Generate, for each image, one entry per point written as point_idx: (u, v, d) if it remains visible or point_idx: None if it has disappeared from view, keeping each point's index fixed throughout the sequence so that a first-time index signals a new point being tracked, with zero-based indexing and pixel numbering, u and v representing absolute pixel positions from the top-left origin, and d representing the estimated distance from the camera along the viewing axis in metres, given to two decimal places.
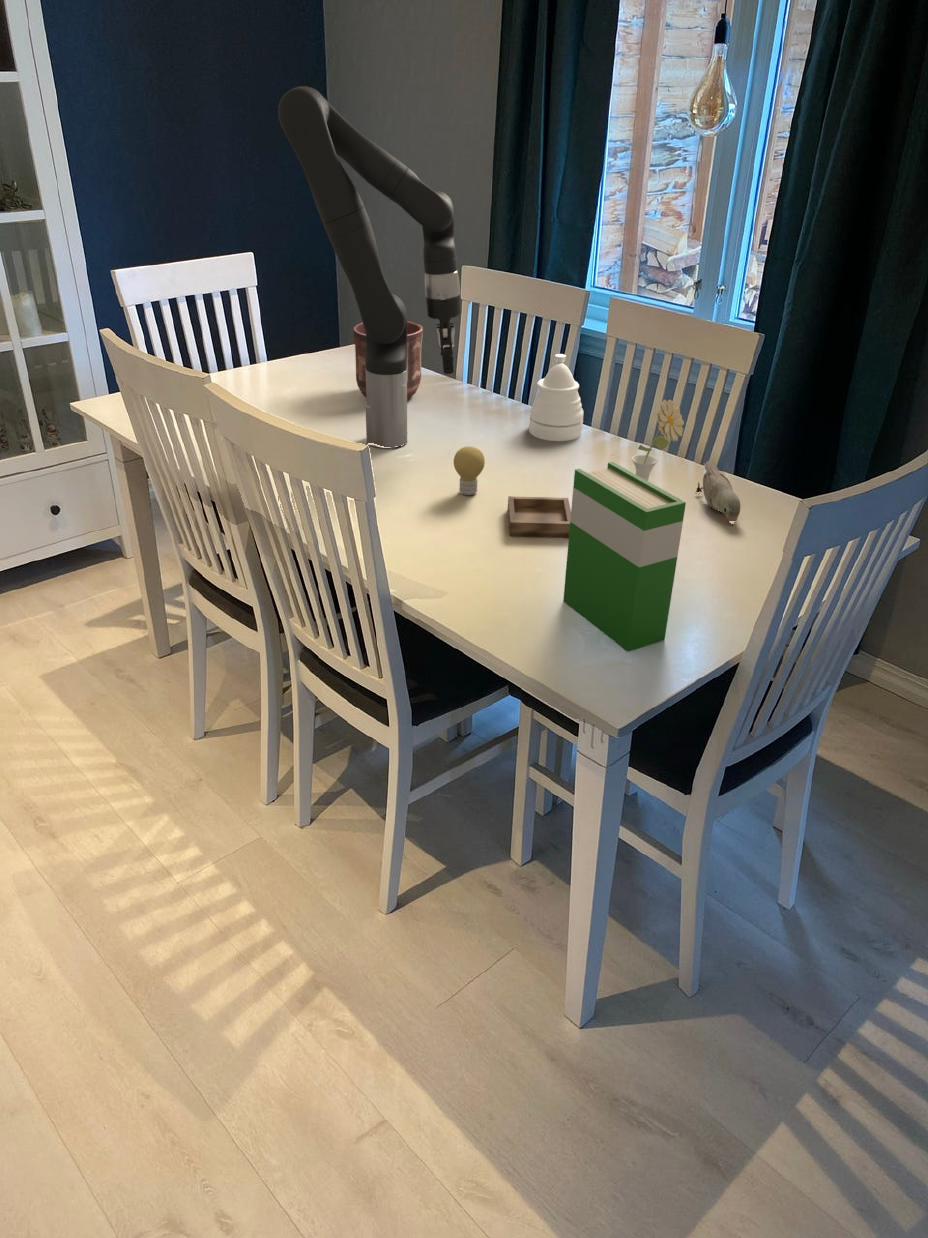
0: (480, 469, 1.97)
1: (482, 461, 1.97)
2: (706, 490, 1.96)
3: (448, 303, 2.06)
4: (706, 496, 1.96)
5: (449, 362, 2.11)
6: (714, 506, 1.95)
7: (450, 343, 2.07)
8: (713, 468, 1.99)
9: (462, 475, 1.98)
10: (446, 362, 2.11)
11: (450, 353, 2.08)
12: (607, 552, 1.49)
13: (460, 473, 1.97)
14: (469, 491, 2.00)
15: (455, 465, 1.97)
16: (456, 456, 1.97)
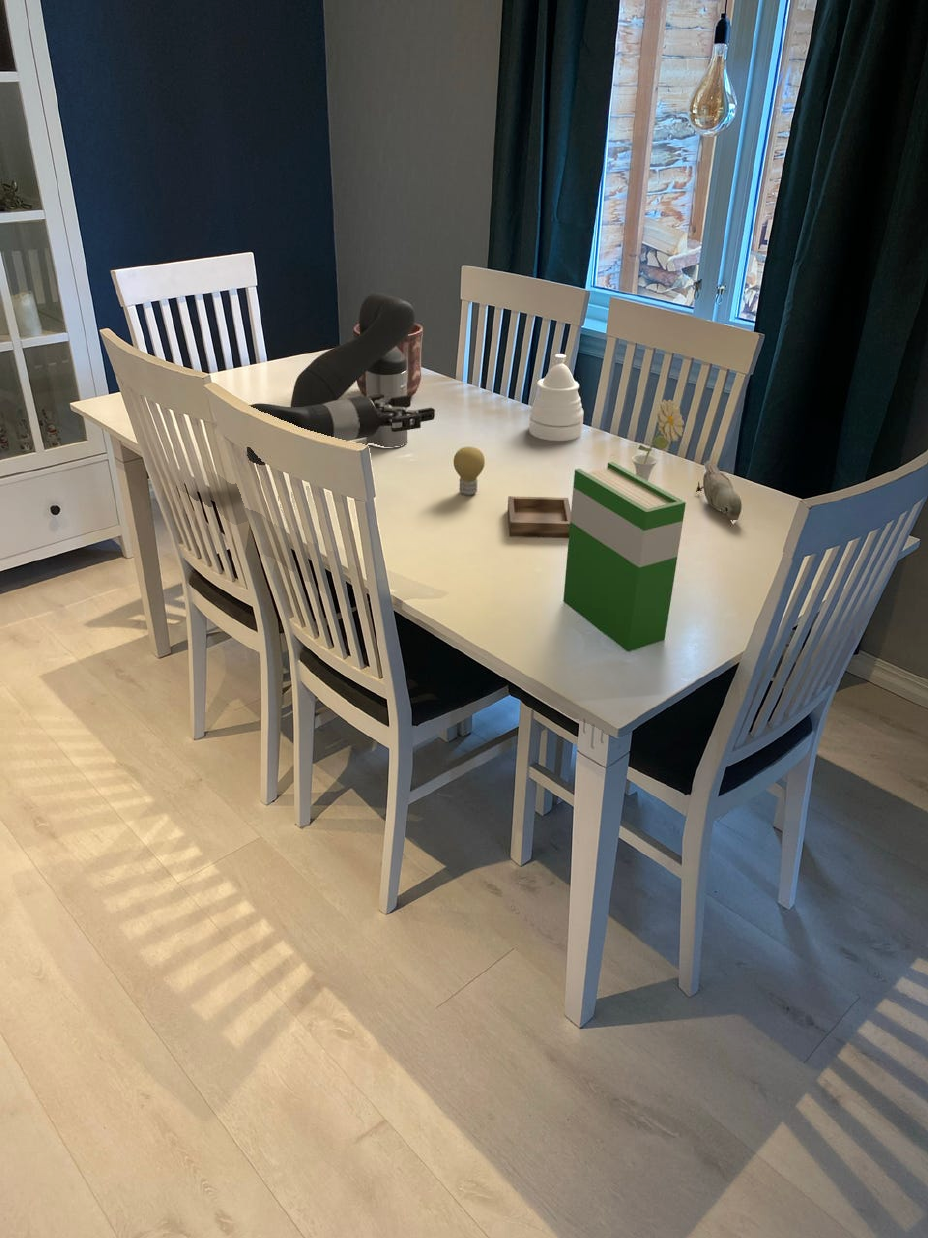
0: (480, 469, 1.97)
1: (482, 461, 1.97)
2: (707, 489, 1.97)
3: (363, 418, 1.75)
4: (707, 495, 1.97)
5: (424, 414, 1.80)
6: (715, 505, 1.95)
7: (409, 418, 1.76)
8: (713, 467, 1.99)
9: (462, 475, 1.98)
10: (424, 418, 1.81)
11: (419, 417, 1.77)
12: (607, 552, 1.49)
13: (460, 473, 1.97)
14: (469, 491, 2.00)
15: (455, 465, 1.97)
16: (456, 456, 1.97)
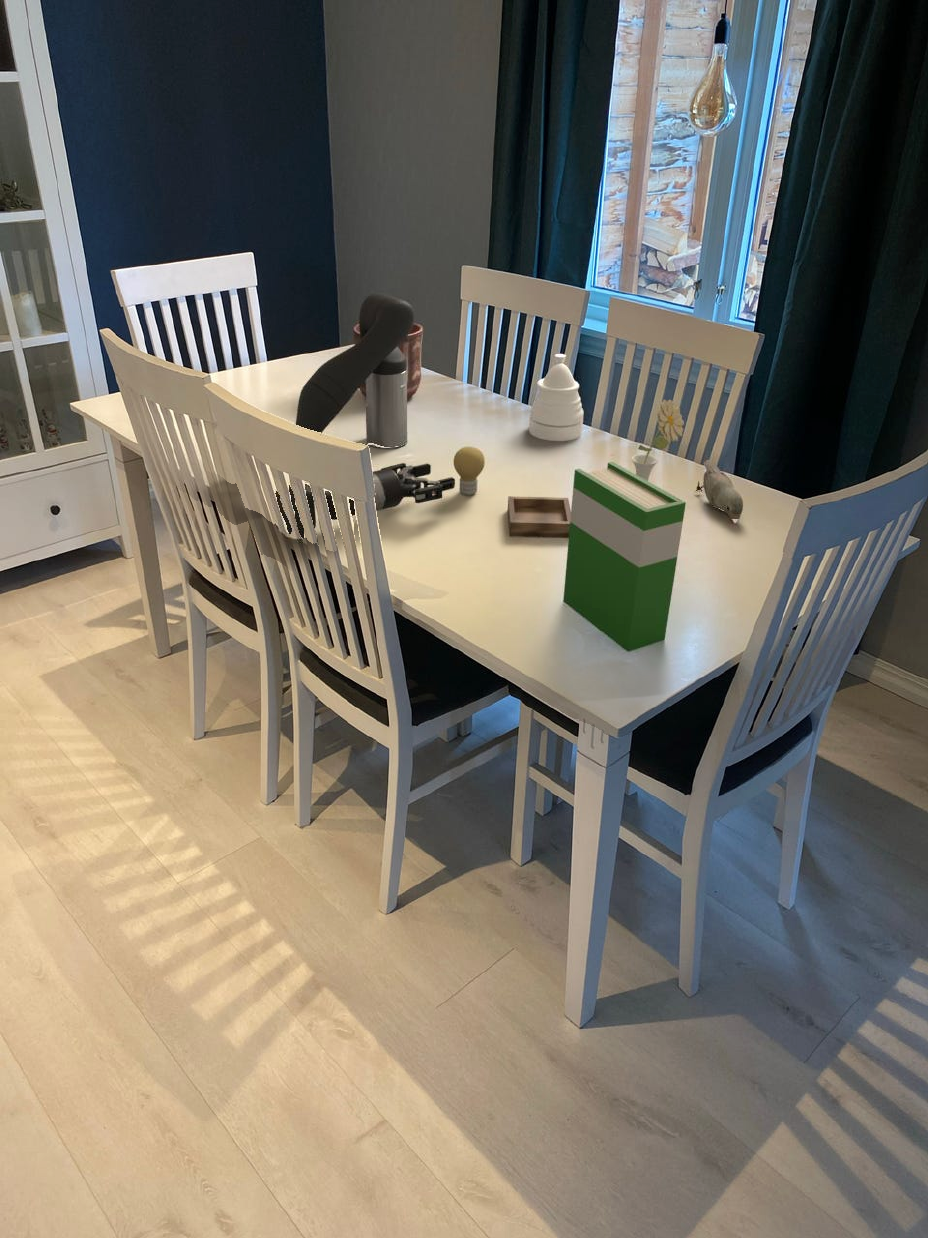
0: (480, 469, 1.97)
1: (482, 461, 1.97)
2: (707, 489, 1.97)
3: (388, 491, 1.84)
4: (707, 495, 1.97)
5: (445, 485, 1.90)
6: (716, 504, 1.96)
7: (431, 490, 1.86)
8: (713, 467, 1.99)
9: (462, 475, 1.98)
10: (445, 488, 1.90)
11: (441, 488, 1.87)
12: (607, 552, 1.49)
13: (460, 473, 1.97)
14: (469, 491, 2.00)
15: (455, 465, 1.97)
16: (456, 456, 1.97)
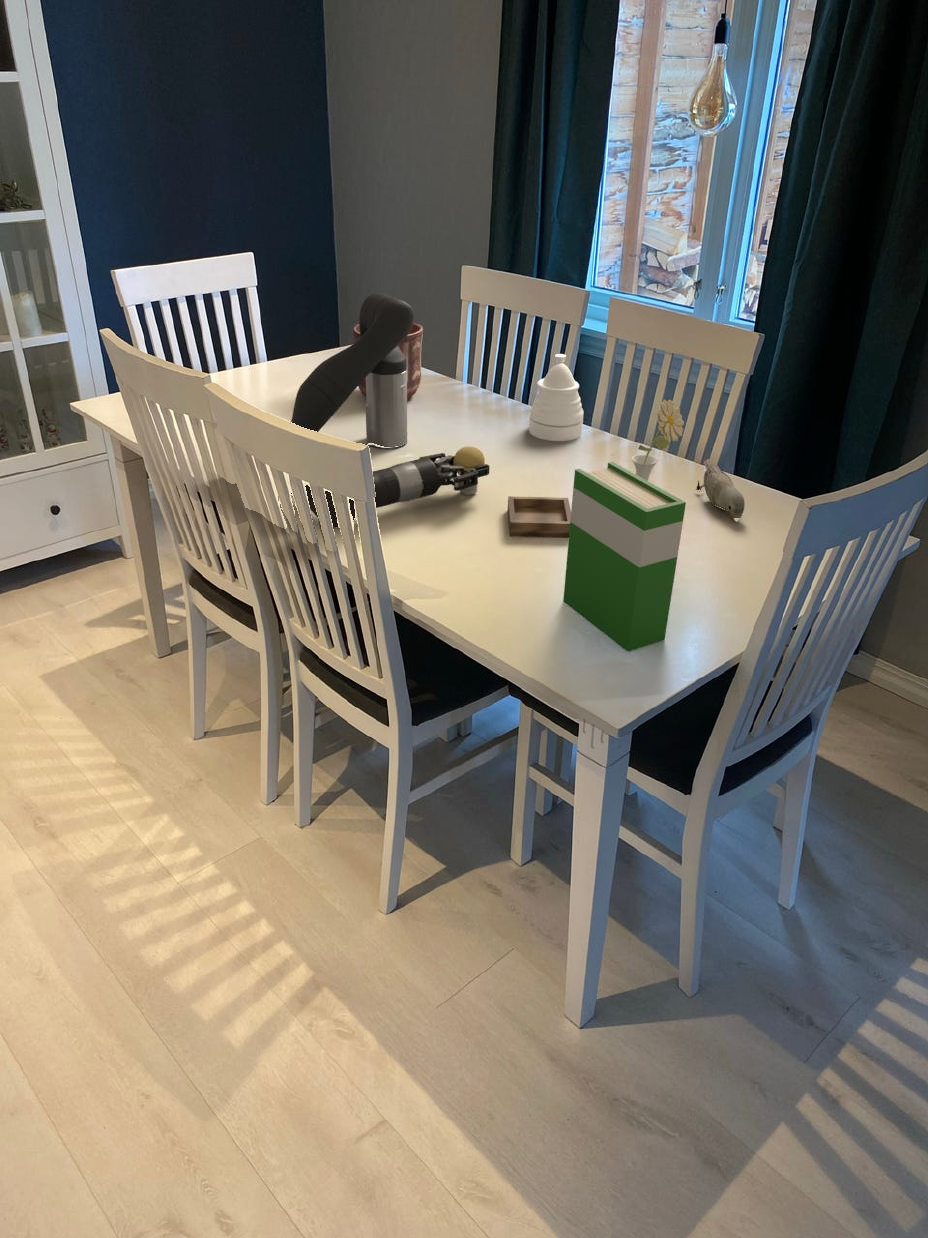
0: None
1: (482, 461, 1.97)
2: (708, 488, 1.97)
3: (426, 479, 1.89)
4: (708, 494, 1.97)
5: (481, 471, 1.95)
6: (717, 504, 1.96)
7: (469, 477, 1.91)
8: (713, 466, 2.00)
9: None
10: (480, 474, 1.96)
11: (477, 475, 1.93)
12: (607, 552, 1.49)
13: None
14: (469, 491, 2.00)
15: (455, 465, 1.97)
16: (456, 456, 1.97)
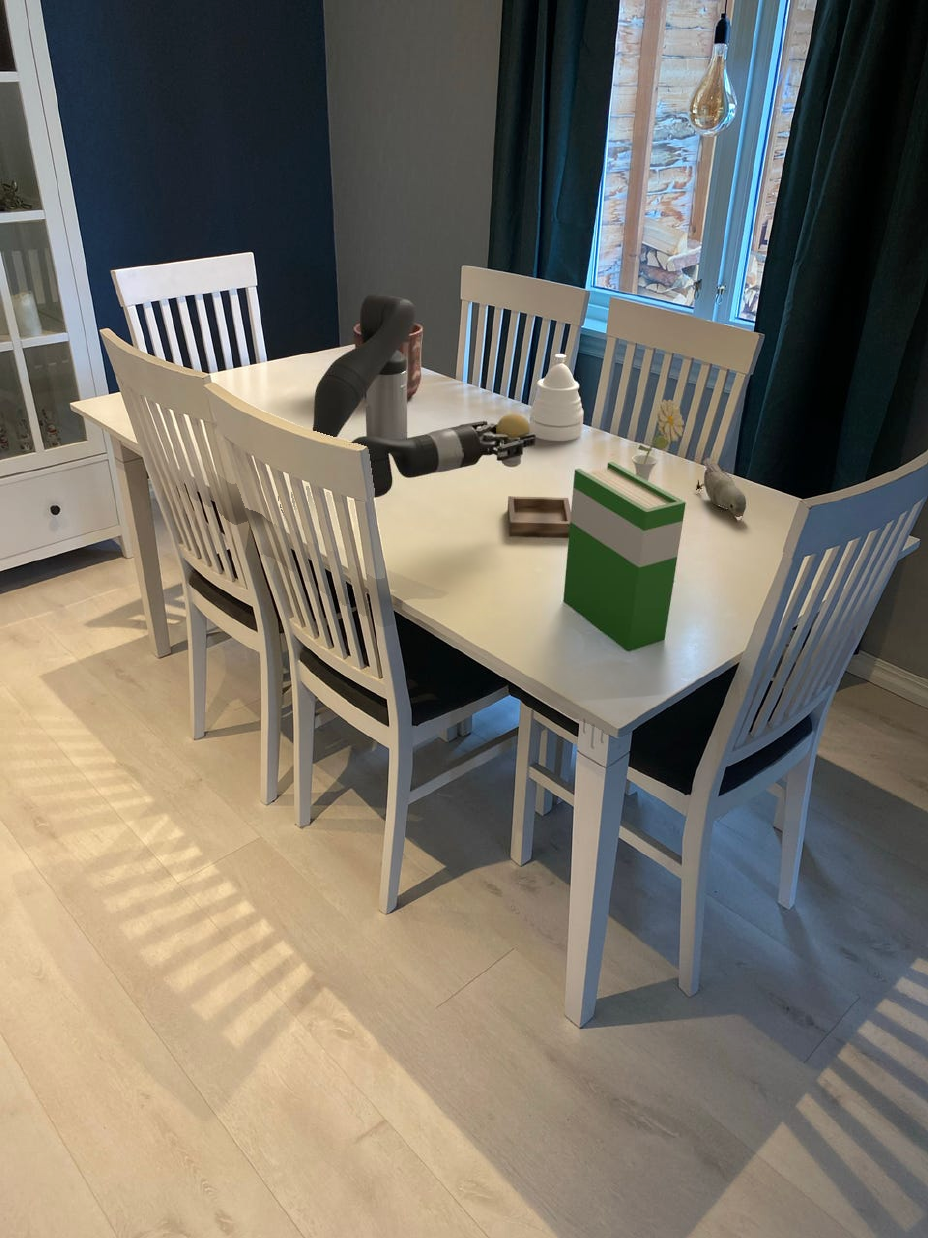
0: None
1: (527, 430, 1.81)
2: (709, 487, 1.98)
3: (466, 448, 1.74)
4: (709, 493, 1.98)
5: (526, 441, 1.80)
6: (718, 503, 1.96)
7: (513, 446, 1.76)
8: (713, 465, 2.00)
9: None
10: (525, 444, 1.80)
11: (522, 444, 1.77)
12: (607, 552, 1.49)
13: None
14: (512, 462, 1.84)
15: None
16: (499, 424, 1.81)
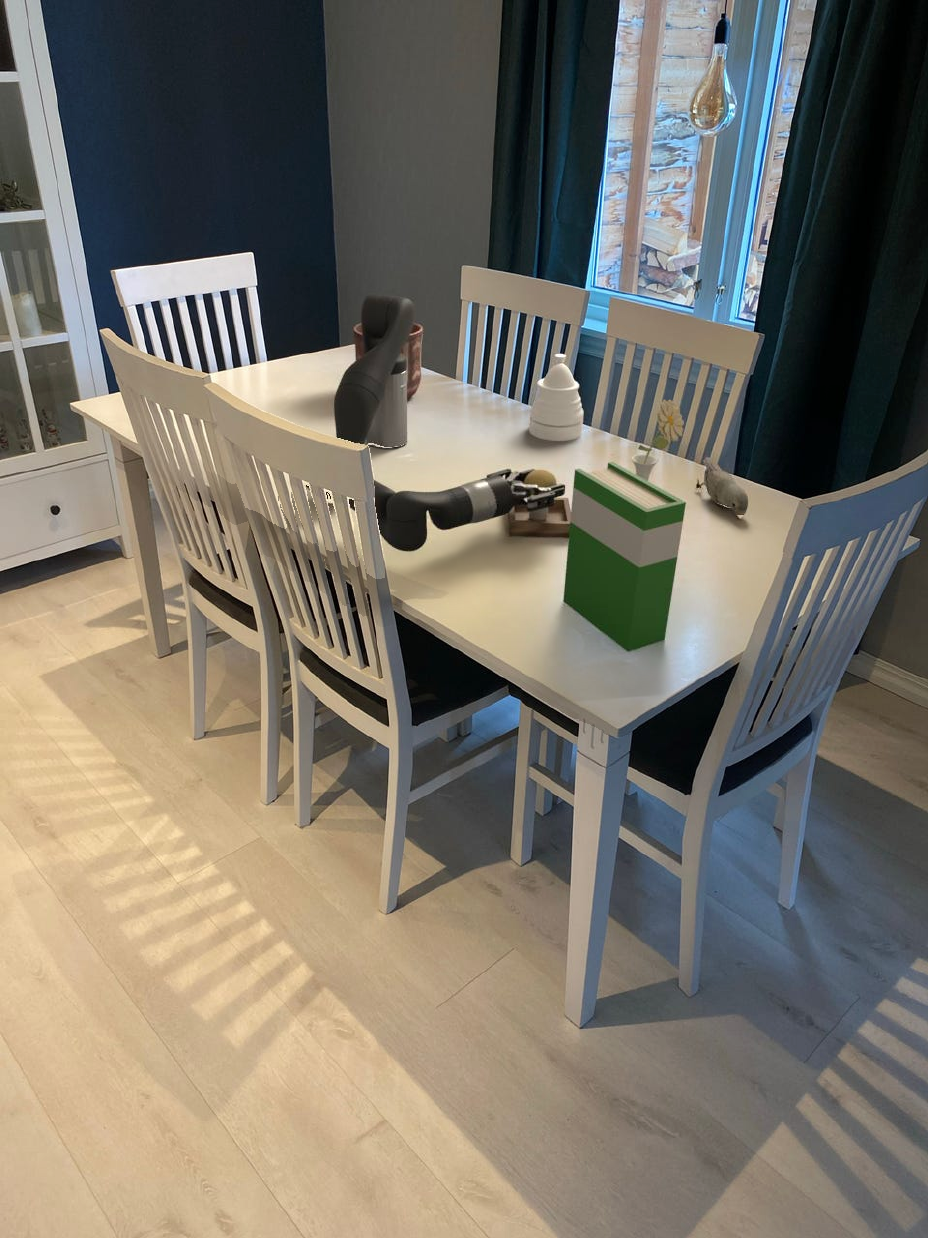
0: None
1: None
2: (710, 486, 1.98)
3: (499, 499, 1.76)
4: (710, 492, 1.98)
5: (556, 491, 1.81)
6: (720, 501, 1.97)
7: (544, 497, 1.78)
8: (713, 464, 2.01)
9: None
10: (556, 495, 1.82)
11: (553, 496, 1.79)
12: (607, 552, 1.49)
13: None
14: (540, 517, 1.88)
15: None
16: (527, 480, 1.84)
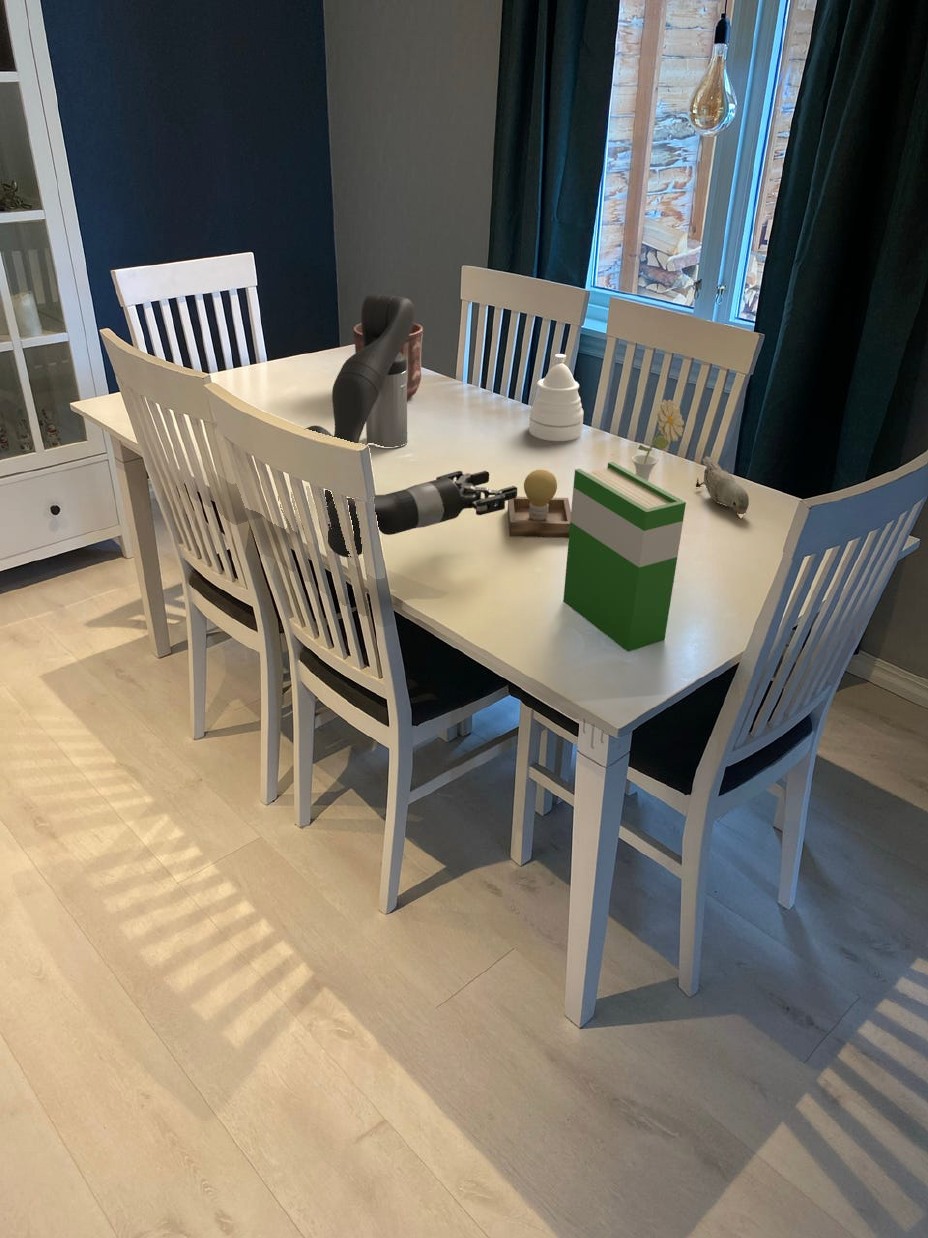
0: (553, 494, 1.85)
1: (555, 485, 1.84)
2: (710, 485, 1.98)
3: (447, 502, 1.69)
4: (711, 491, 1.99)
5: (508, 494, 1.74)
6: (720, 500, 1.97)
7: (494, 500, 1.71)
8: (713, 463, 2.01)
9: (533, 500, 1.85)
10: (507, 497, 1.75)
11: (503, 499, 1.72)
12: (607, 552, 1.49)
13: (531, 498, 1.85)
14: (540, 517, 1.88)
15: (526, 490, 1.85)
16: (527, 480, 1.84)
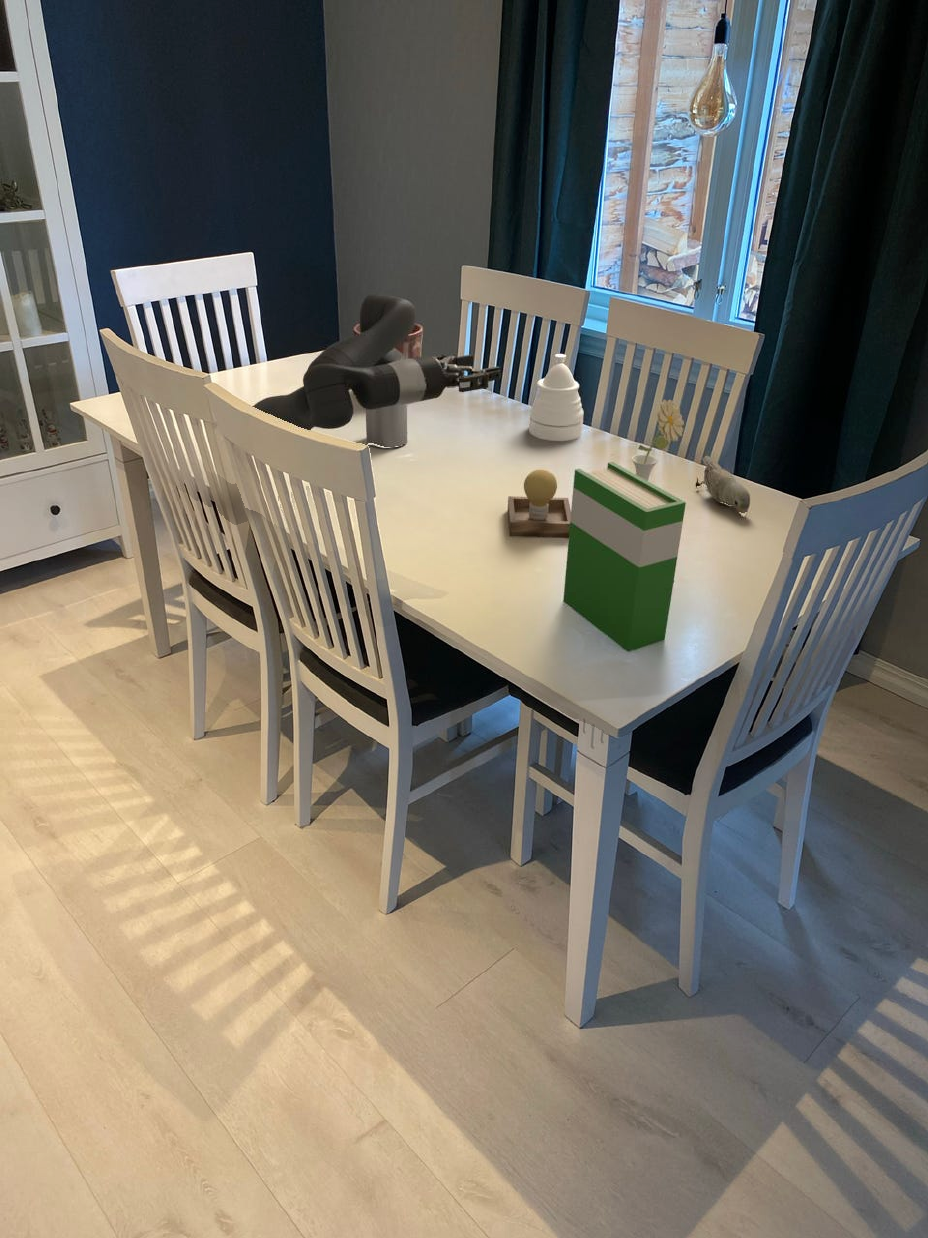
0: (553, 494, 1.85)
1: (555, 485, 1.84)
2: (711, 484, 1.99)
3: (429, 378, 1.67)
4: (711, 490, 1.99)
5: (491, 374, 1.72)
6: (721, 500, 1.98)
7: (477, 377, 1.68)
8: (713, 462, 2.01)
9: (533, 500, 1.85)
10: (491, 377, 1.72)
11: (487, 376, 1.69)
12: (607, 552, 1.49)
13: (531, 498, 1.85)
14: (540, 517, 1.88)
15: (526, 490, 1.85)
16: (527, 480, 1.84)
